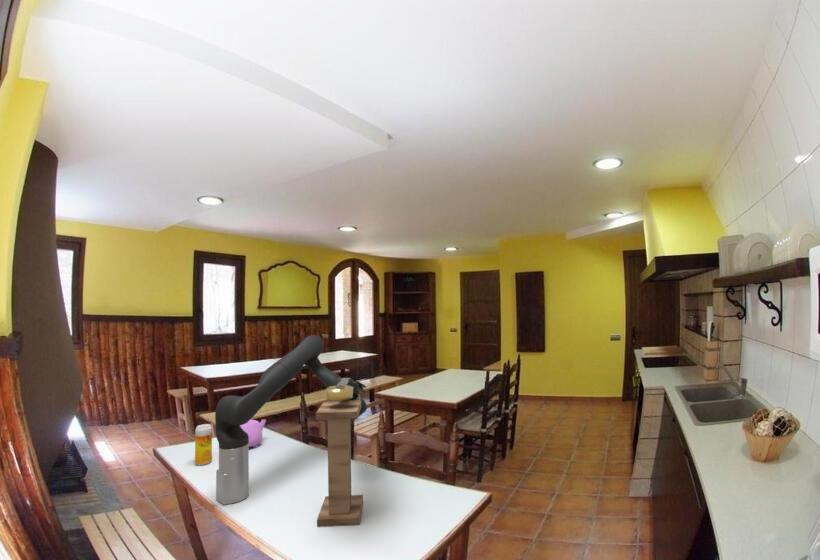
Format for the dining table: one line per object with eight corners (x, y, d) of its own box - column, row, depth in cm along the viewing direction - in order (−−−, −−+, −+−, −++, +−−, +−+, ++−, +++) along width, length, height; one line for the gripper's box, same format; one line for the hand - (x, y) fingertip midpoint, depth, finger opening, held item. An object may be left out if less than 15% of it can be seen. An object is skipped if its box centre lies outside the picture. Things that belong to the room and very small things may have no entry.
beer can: (204, 466, 162) (205, 428, 163) (191, 465, 163) (191, 427, 164) (215, 460, 168) (215, 423, 169) (202, 459, 169) (202, 423, 170)
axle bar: (334, 386, 142) (334, 378, 142) (357, 386, 142) (357, 377, 142) (324, 401, 121) (324, 391, 121) (351, 400, 121) (351, 390, 121)
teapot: (230, 456, 172) (230, 426, 173) (217, 450, 180) (217, 421, 180) (272, 443, 187) (272, 415, 188) (258, 438, 195) (258, 411, 196)
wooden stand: (325, 502, 129) (324, 401, 131) (363, 501, 130) (361, 400, 132) (317, 526, 115) (315, 413, 117) (359, 524, 116) (357, 411, 118)
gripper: (331, 387, 152) (324, 370, 138) (368, 386, 153) (365, 369, 139) (329, 407, 148) (322, 392, 134) (368, 406, 149) (364, 391, 134)
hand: (344, 380), depth 136 cm, fingers closed on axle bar, 3 cm apart
